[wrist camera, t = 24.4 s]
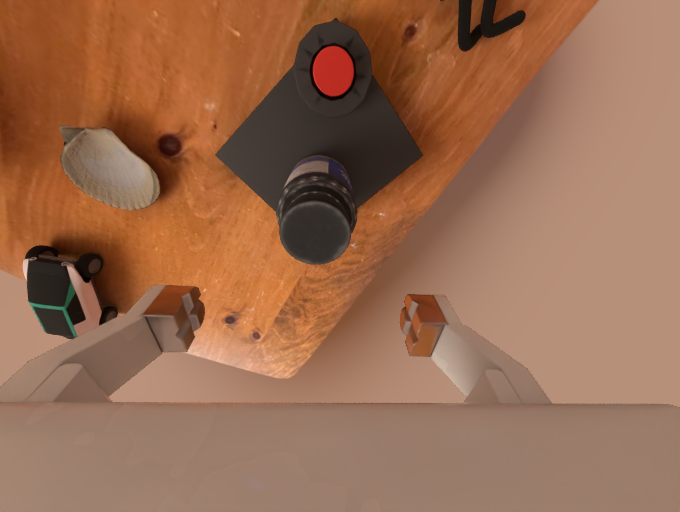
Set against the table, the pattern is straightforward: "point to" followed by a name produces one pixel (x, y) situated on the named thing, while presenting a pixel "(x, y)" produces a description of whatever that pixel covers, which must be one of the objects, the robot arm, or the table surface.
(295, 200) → the pill bottle
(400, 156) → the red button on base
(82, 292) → the toy car
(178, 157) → the table surface
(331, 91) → the button
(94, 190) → the seashell
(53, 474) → the robot arm
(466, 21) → the character figurine
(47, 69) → the table surface
